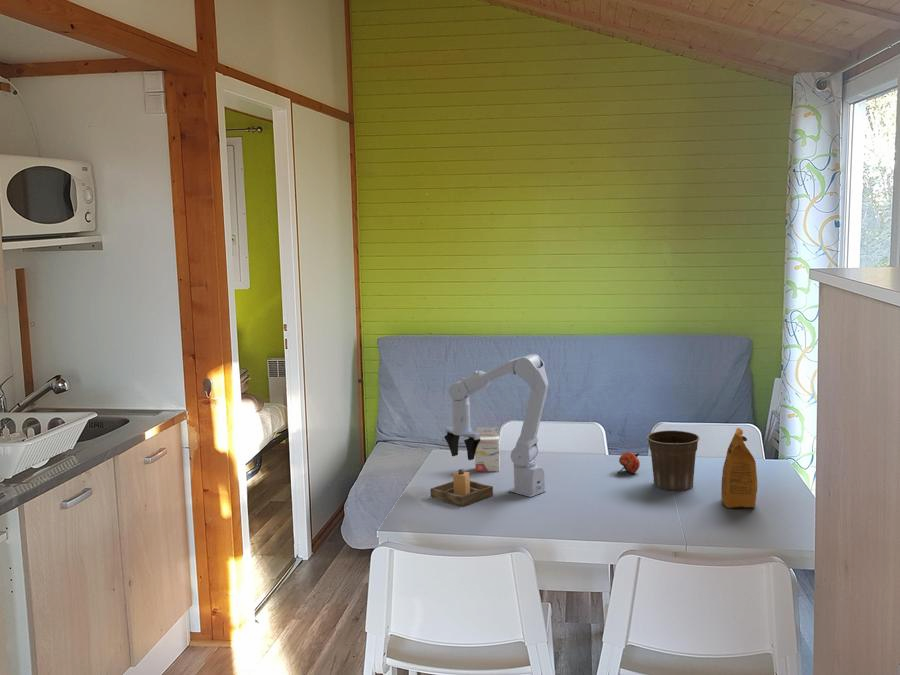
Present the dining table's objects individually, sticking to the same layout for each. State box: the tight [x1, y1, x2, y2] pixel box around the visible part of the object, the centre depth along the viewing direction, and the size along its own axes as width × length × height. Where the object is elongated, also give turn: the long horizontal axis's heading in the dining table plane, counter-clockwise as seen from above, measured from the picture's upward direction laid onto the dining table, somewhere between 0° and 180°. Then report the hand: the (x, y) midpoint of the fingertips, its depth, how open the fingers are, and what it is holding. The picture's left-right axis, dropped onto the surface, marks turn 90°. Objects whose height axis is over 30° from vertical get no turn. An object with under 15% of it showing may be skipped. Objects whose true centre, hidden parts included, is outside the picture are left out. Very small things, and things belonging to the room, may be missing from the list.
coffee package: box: [720, 427, 758, 509], centre depth 252 cm, size 10×12×22 cm
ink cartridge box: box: [474, 427, 501, 472], centre depth 298 cm, size 9×5×15 cm, turn 84°
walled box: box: [429, 480, 494, 508], centre depth 270 cm, size 14×14×3 cm
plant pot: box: [646, 430, 700, 492], centre depth 272 cm, size 16×16×16 cm
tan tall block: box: [452, 468, 471, 496], centre depth 270 cm, size 4×4×8 cm
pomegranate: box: [617, 452, 641, 474], centre depth 288 cm, size 7×7×10 cm
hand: (462, 457), depth 281 cm, fingers open, 7 cm apart
